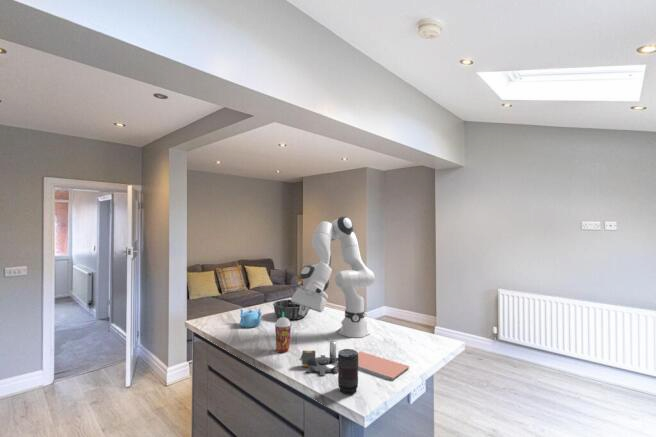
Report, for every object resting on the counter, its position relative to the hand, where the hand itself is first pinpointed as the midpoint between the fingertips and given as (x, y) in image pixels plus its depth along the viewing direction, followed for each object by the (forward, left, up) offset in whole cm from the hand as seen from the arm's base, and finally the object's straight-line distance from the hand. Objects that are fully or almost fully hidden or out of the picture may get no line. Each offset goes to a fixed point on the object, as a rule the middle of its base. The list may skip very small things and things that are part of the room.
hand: (300, 315), depth 163 cm
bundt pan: (-72, -12, -21) cm, 76 cm away
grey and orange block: (+12, +5, -19) cm, 23 cm away
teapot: (-51, -36, -21) cm, 66 cm away
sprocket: (+12, +11, -20) cm, 26 cm away
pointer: (+3, +3, -20) cm, 21 cm away
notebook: (+11, +35, -21) cm, 43 cm away
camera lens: (+34, +21, -21) cm, 45 cm away
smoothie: (-7, -10, -21) cm, 24 cm away
